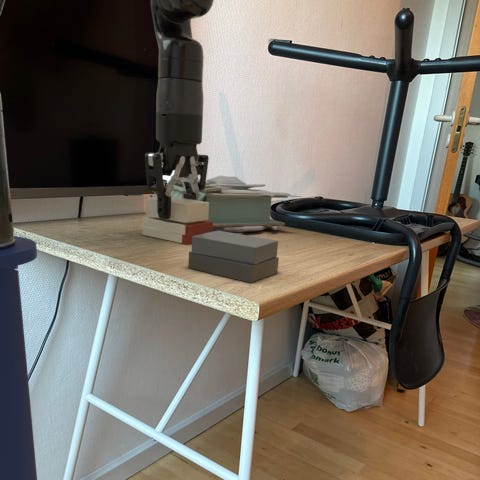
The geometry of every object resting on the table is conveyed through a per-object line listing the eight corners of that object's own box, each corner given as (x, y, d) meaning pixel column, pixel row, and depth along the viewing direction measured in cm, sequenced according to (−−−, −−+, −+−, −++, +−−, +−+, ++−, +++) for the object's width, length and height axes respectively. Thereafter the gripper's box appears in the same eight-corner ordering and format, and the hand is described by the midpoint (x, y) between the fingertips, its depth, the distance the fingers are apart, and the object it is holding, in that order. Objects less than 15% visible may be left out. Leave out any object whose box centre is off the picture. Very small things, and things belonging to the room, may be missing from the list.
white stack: (186, 244, 80) (187, 226, 79) (140, 235, 85) (140, 217, 84) (212, 239, 86) (213, 222, 85) (168, 230, 91) (168, 214, 90)
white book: (186, 223, 80) (187, 204, 79) (146, 215, 84) (146, 197, 83) (208, 219, 85) (209, 202, 84) (168, 212, 89) (169, 196, 88)
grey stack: (250, 283, 61) (253, 248, 59) (187, 267, 66) (189, 235, 64) (278, 272, 67) (281, 241, 65) (218, 259, 72) (220, 229, 70)
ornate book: (145, 216, 111) (202, 237, 86) (145, 172, 108) (203, 180, 83) (232, 215, 122) (304, 233, 97) (234, 175, 119) (308, 183, 94)
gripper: (189, 115, 86) (186, 210, 92) (130, 107, 75) (131, 217, 80) (224, 116, 82) (218, 216, 88) (168, 108, 71) (165, 223, 77)
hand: (177, 216), depth 84 cm, fingers closed on white book, 6 cm apart
